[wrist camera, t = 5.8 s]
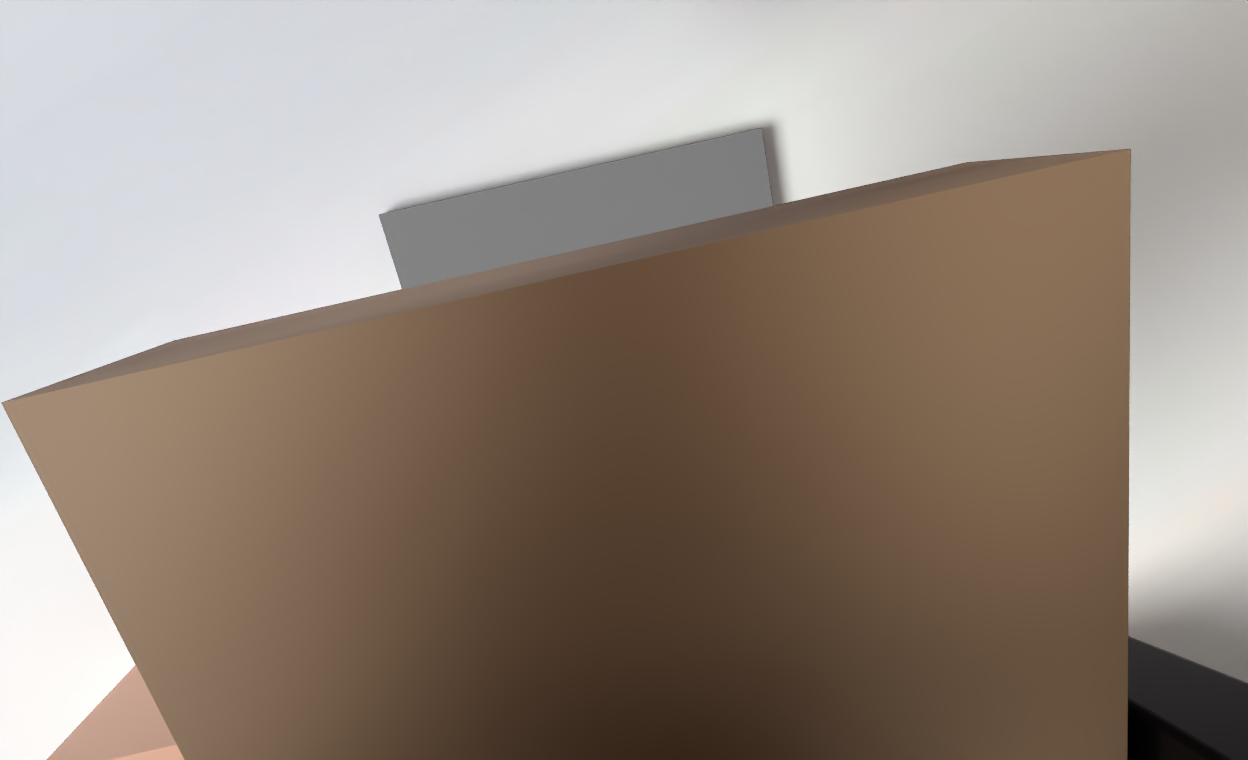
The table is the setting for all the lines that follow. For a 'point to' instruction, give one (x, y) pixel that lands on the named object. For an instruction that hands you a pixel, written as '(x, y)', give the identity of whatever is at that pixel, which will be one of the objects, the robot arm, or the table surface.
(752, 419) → the lid
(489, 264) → the mat
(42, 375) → the table surface
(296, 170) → the table surface
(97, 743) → the dish
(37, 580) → the table surface
